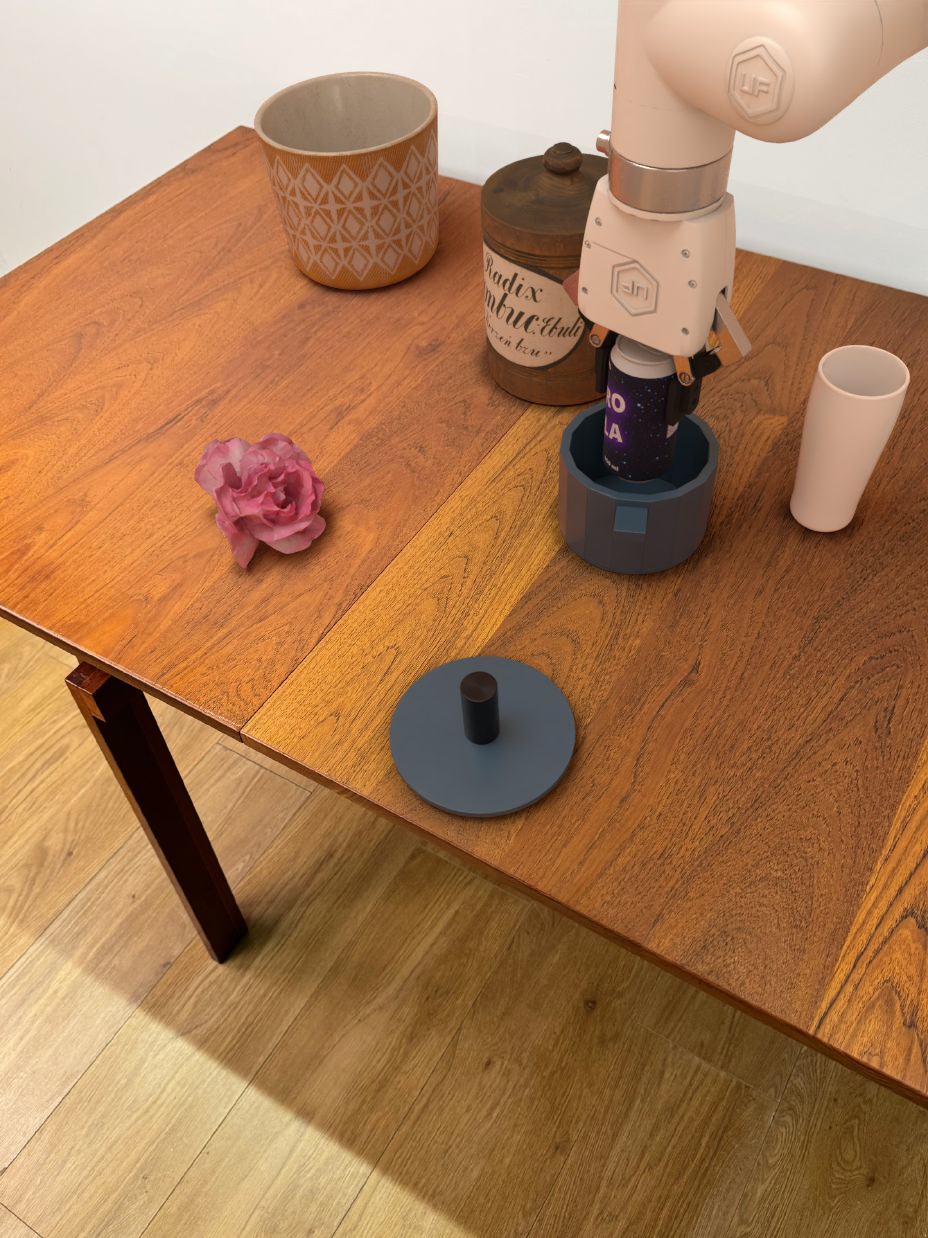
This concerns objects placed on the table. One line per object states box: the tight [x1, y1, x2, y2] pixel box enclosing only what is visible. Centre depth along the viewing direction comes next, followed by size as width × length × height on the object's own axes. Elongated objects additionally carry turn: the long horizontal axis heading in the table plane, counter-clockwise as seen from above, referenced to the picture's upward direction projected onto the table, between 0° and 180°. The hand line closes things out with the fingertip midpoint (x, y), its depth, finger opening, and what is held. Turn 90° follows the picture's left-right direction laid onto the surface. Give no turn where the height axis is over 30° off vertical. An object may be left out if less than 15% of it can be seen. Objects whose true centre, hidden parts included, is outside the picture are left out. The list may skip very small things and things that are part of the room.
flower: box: [193, 432, 327, 569], centre depth 86 cm, size 11×10×10 cm
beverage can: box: [603, 334, 678, 483], centre depth 77 cm, size 6×6×12 cm
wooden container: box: [479, 141, 608, 406], centre depth 93 cm, size 15×15×22 cm
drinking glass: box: [789, 344, 911, 533], centre depth 80 cm, size 7×7×15 cm
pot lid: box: [388, 655, 577, 818], centre depth 71 cm, size 14×14×7 cm
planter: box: [253, 71, 440, 291], centre depth 111 cm, size 19×19×16 cm
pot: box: [557, 400, 720, 576], centre depth 84 cm, size 13×18×8 cm
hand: (644, 397), depth 77 cm, fingers closed on beverage can, 5 cm apart
